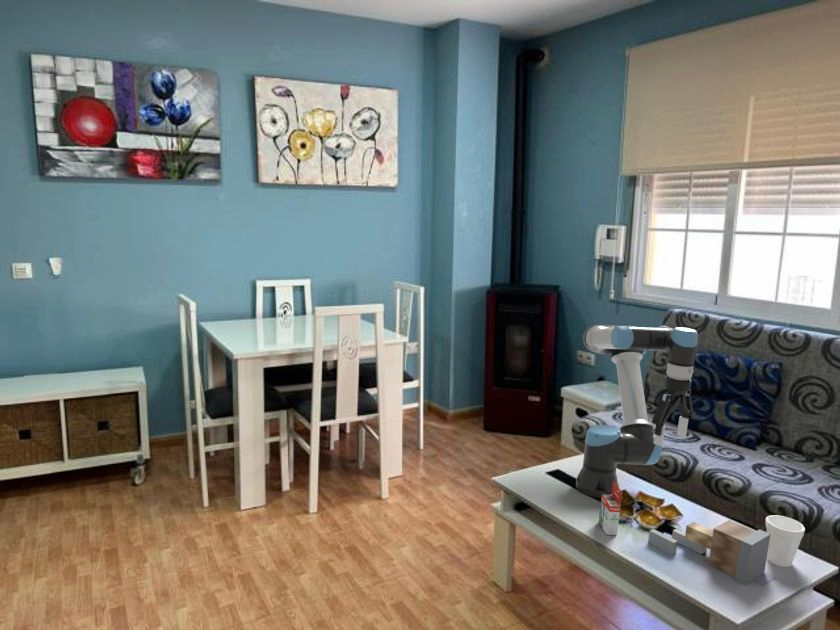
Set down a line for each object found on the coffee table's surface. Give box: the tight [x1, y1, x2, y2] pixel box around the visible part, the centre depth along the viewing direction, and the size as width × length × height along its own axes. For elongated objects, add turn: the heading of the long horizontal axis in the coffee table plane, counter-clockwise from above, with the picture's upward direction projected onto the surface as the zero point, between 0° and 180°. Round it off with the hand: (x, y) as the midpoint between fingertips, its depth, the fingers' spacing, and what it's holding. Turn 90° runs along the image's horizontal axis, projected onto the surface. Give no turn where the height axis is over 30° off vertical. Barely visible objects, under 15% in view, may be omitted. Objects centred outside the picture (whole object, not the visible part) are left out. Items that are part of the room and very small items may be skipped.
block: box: [707, 519, 757, 579], centre depth 174 cm, size 8×9×11 cm
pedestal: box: [647, 528, 679, 556], centre depth 183 cm, size 8×2×5 cm, turn 37°
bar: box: [684, 521, 714, 550], centre depth 179 cm, size 14×4×4 cm, turn 38°
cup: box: [765, 514, 806, 568], centre depth 178 cm, size 10×10×13 cm
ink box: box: [598, 481, 623, 536], centre depth 193 cm, size 4×8×15 cm, turn 2°
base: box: [671, 528, 771, 586], centre depth 178 cm, size 26×11×13 cm, turn 37°
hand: (669, 440), depth 196 cm, fingers open, 13 cm apart
